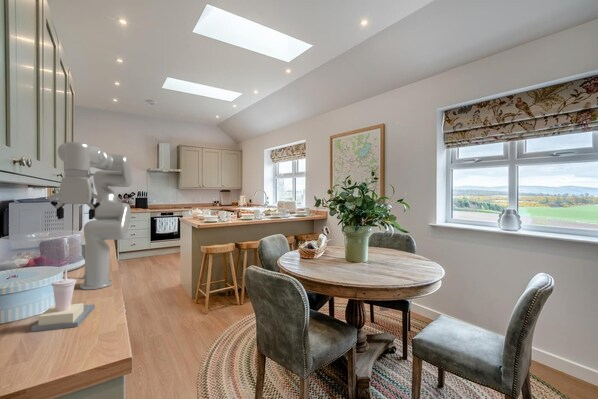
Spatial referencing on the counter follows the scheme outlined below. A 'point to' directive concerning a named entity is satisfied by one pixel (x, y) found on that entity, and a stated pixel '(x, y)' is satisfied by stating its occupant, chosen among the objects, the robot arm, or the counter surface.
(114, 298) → the counter surface
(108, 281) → the robot arm
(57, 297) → the smoothie
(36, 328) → the base board
